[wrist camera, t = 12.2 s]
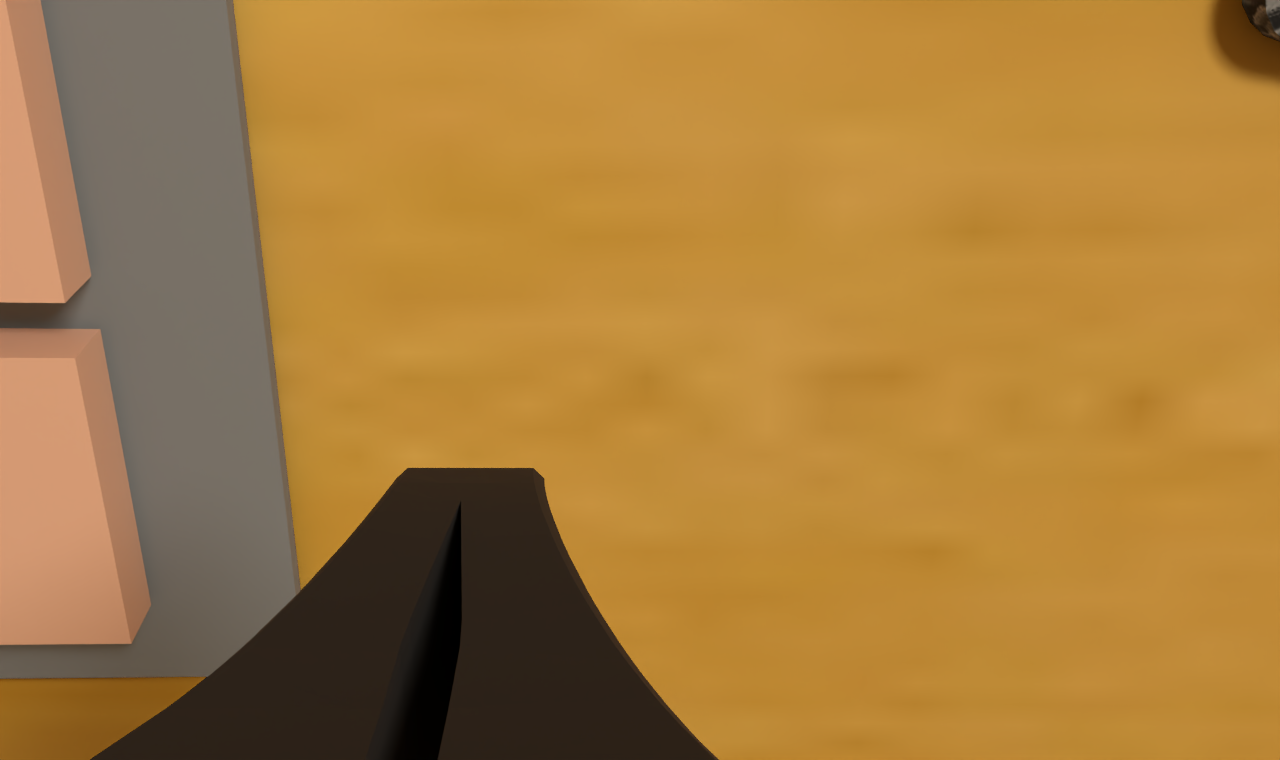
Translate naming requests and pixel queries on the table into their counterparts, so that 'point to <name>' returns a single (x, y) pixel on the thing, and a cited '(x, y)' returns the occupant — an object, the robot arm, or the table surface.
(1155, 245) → the table surface
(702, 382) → the table surface
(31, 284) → the tile
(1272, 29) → the phone
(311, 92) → the table surface
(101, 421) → the tile
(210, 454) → the mat
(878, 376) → the table surface
